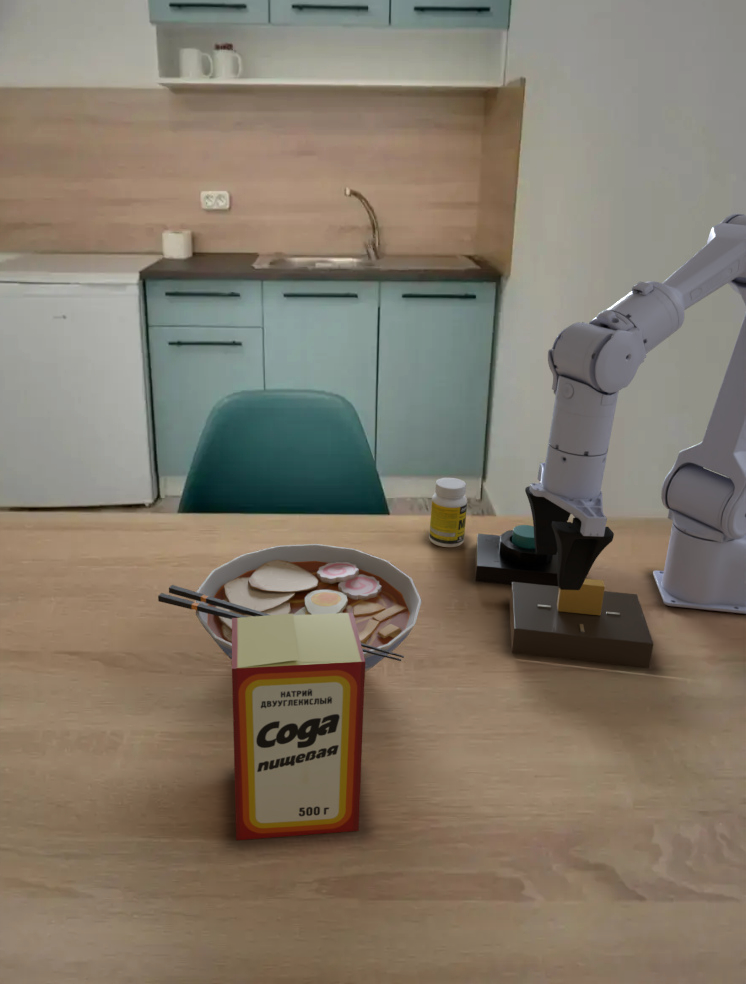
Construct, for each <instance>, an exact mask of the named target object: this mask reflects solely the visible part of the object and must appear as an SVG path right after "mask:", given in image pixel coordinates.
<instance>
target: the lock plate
mask: <svg viewBox="0 0 746 984" xmlns="http://www.w3.org/2000/svg"><path fill="white" fill-rule="evenodd" d="M510 586H511V587H510V595H509V603H508V605H509V622H510V623H509V625H510V643H511V644H510V645H511V653H513V654H521V655H531V656H537V657H539V656H541V657H546V658H547V657H549V658H558V659H566V660H575V661H581V662H582V661H585V662H591V663H601V664H610V665H619V666H628V667H636V668H646V669H649V668H650V665H651V660H652V654H653V649H654V641H653V638H652V636H651V632H650V629H649V626H648V623H647V621H646V617H645V614H644V611H643V609H642V605H641V603H640V599H639V596H638V594H637V593H628V592H617V591H606V590H604V595H603V602H602V608H601V615H600V616H599V615H590V614H580V613H571V612H561V611H558V609H557V600H558V592H559V587H558V586H549V585H539V584H529V583H519V582H512V585H510Z"/></svg>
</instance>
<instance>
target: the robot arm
mask: <svg viewBox="0 0 746 984" xmlns="http://www.w3.org/2000/svg"><path fill="white" fill-rule="evenodd" d="M726 285H729V287H730V288H731V289H732V290H733V291H734V292H735V293H737V294H739V295H740V297H741V299H742V301H743V303H744V305H745V306H746V214H744V213H738V212H737V213H731V214H729V215H726V217H724V218H723V219H722V221H721V222H719V223H717V224H715V225H713V226H712V227H711V229H710V232H709V234H708V238H707V241H706V244H705V245H704V246H703V247H701V248H700V249H699V250H698V251H697V252H696V253H695V254H693V255H692V256H691V257H690V258H689V259H688V260H687V261H686V262H685V263H683V265H680V267H678V269H676V270H675V271H674V272H672V274H671V275H670V276H668V277H667V278H666V279H664V281H663V282H659V281H655V280H650V281H645V282H644V281H638V282H637V283H635V285H633V286H632V287H631V291H629V292H628V293H627V294H625V295H624V296H623V297H621V298H620V299H619V300H617V301H616V302H615V303H613V304H612V305H610V306H609V307H608V308H606V309H603V310H602V311H600V312H599V313H598V314H597V315H596V317H594V318H593V319H592V320H590V321H589V322H585V321H582V322H580V321H577V322H574V323H572V324H570V325H568V326H567V327H565V328H563V330H561V331H560V332H559V333H558V335H557V336H556V338H555V340H554V342H553V344H552V348H551V349H548V351H547V364H548V367H549V370H550V372H551V373H552V386H551V390H552V391H553V394H554V395H555V399H554V405H553V411H552V417H551V422H550V423H551V425H550V430H549V436H548V441H547V449H546V454H545V455H546V456H545V462H539V467H538V472H537V473H538V474H537V480H538V482H532V483H530V484H529V486H526V487H525V490H524V491H525V495H526V497H527V500H528V503H529V506H530V511H531V516H532V526H534V541H535V549H536V553H537V554H539V555H556V553H557V551H558V567H557V581H558V587H559V588H560V589H561V590H580V588H581V587H582V585H583V583H584V581H585V579H587V576H588V574H589V572H590V570H591V568H592V567H593V565H594V563H595V562H596V560H597V558H598V557H599V556H600V554H601V553H602V552H603V551H604V549H606V547H608V546H609V545H610V544H611V543H612V542H613V540H614V537H615V533H614V532H613V530H612V529H611V528H610V527H609V526H607V522H608V521H607V520H608V518H607V516H606V515H605V513H604V505H603V504H604V503H603V492H602V485H603V480H604V474H605V468H606V463H607V458H608V453H609V452H608V451H609V446H610V441H611V435H612V429H613V424H614V419H615V414H616V409H617V404H618V398H619V391H621V390H623V389H625V388H627V387H628V386H629V385H630V384H631V382H632V381H633V379H634V378H635V376H636V374H637V371H638V369H639V367H640V365H641V364H643V363H644V362H645V359H646V358H647V354H648V353H649V352H651V351H652V350H653V349H655V348H656V347H657V346H659V345H661V344H662V343H663V342H664V341H665V340H667V339H668V338H669V337H671V336H672V335H673V334H674V333H676V332H677V331H679V330H680V328H682V326H683V325H684V321H685V311H687V310H688V309H689V308H690V307H693V306H694V305H695V304H697V303H699V302H700V301H702V300H703V299H705V298H706V297H708V296H710V295H711V294H712V293H715V292H717V290H719V289H721V288H722V287H724V286H726ZM739 328H740V329H739V331H738V334H737V337H736V340H735V343H734V346H733V349H732V353H731V355H730V358H729V361H728V363H727V366H726V371H725V373H724V376H723V379H722V382H721V384H720V388H719V391H718V393H717V396H716V400H715V403H714V406H713V409H712V411H711V415H710V417H709V420H708V423H707V426H706V429H705V432H704V435H703V438H702V441H701V442H699V443H697V444H694V445H692V446H689V447H687V448H684V449H682V450H680V451H679V452H678V454H677V458H676V460H675V462H674V464H673V466H672V468H671V469H670V470H669V472H668V473H667V474H666V476H665V478H664V479H663V482H662V485H661V491H660V492H661V493H660V494H661V502H662V505H663V506H664V508H665V509H667V510H668V513H667V519H668V520H670V521H672V523H671V528H670V533H669V541H668V546H667V550H666V556H665V562H664V568H663V570H657V569H656V570H653V572H652V576H653V579H654V581H655V583H656V587H657V589H658V591H659V594H660V596H661V600H662V602H663V604H664V605H665V606H669V607H674V608H675V607H677V608H685V609H686V608H687V609H694V610H695V609H697V610H706V611H716V612H723V613H724V612H726V613H733V614H734V613H736V614H745V615H746V312H745V314H744V316H743V319H742V321H741V325H740V327H739ZM571 515H572V516H573V517H572V521H569V519H570V517H571Z"/></svg>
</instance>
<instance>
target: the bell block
mask: <svg viewBox="0 0 746 984" xmlns="http://www.w3.org/2000/svg"><path fill="white" fill-rule="evenodd" d="M476 536H477V537H476V544H475V545H476V546H475V576H474V578H475V582H477V583H478V582H479V583H489V584H498V585H508V586H511V585H512V582H519V583H529V584H539V585H549V586H558V581H557V567H558V551H557V553H556V555H539V554H537V553H536V549H535V548H534V549H528V548H521V547H519V546H516V545H514V544H513V543H512V536H513V529H509V530H506V531H504V532H503V533H501V534H499V535H497V534H486V533H477V535H476Z"/></svg>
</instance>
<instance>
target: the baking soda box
mask: <svg viewBox="0 0 746 984" xmlns="http://www.w3.org/2000/svg"><path fill="white" fill-rule="evenodd" d="M365 681H366V672H365V658H364V654H363V650H362V646H361V642H360V638H359V634H358V630H357V626H356V623H355V619H354V615H353V613H333V614H312V615H293V614H281V615H267V616H254V617H241V618H232V660H231V684H232V685H231V687H232V688H231V690H232V691H231V692H232V724H233V726H232V728H233V763H234V765H233V766H234V769H233V770H234V801H235V802H234V803H235V805H234V807H235V839H236V841H244V840H245V841H246V840H259V839H270V838H271V839H272V838H283V837H296V836H297V837H299V836H308V835H321V834H335V833H346V832H347V833H348V832H359V828H360V827H359V826H360V805H361V804H360V803H361V802H360V801H361V782H362V781H361V780H362V779H361V778H362V755H363V753H362V752H363V732H364V708H365V706H364V705H365V683H366V682H365Z"/></svg>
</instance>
